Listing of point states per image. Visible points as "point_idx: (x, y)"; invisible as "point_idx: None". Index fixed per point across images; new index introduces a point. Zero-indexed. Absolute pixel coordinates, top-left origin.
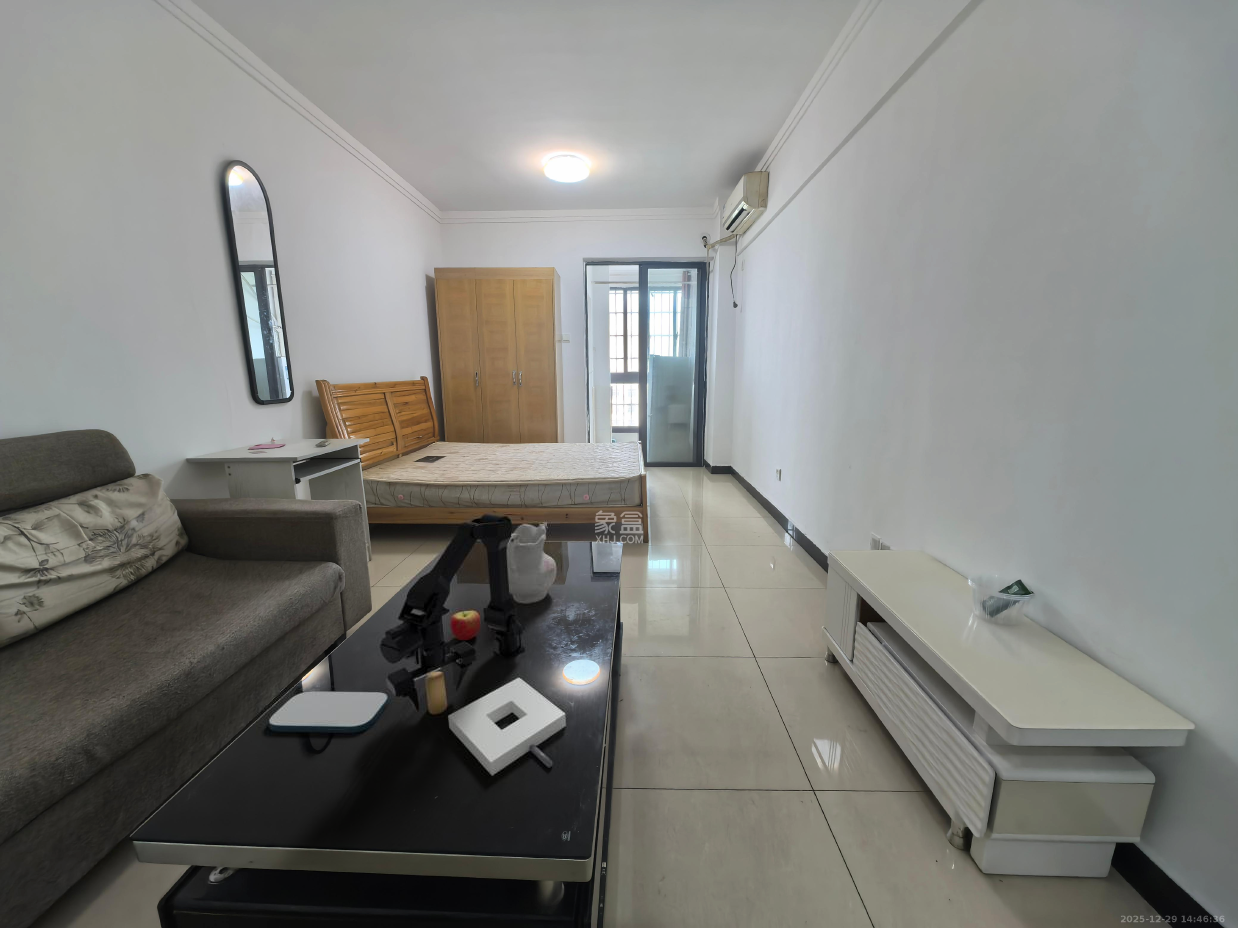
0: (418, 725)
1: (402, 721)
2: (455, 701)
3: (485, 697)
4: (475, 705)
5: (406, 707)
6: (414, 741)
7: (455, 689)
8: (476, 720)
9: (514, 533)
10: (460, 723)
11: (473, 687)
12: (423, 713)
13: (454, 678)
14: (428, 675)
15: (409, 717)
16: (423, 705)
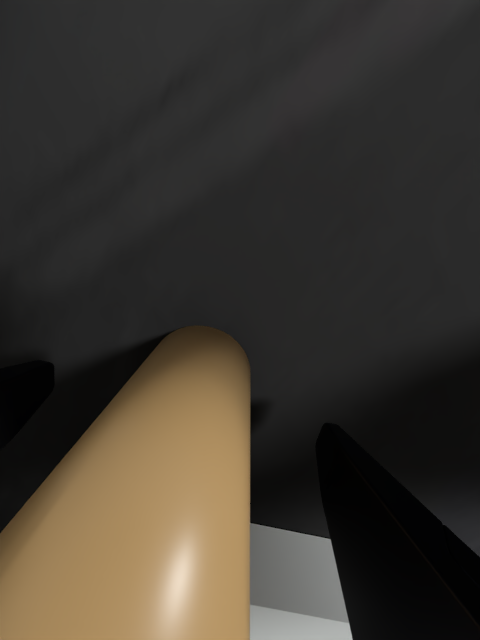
0: (66, 391)
1: (13, 294)
2: (286, 410)
3: (332, 626)
4: (258, 625)
5: (79, 195)
6: (14, 450)
7: (320, 448)
8: None
9: None
10: None
11: (425, 407)
12: (126, 341)
13: (368, 529)
14: None
15: (56, 300)
16: (162, 282)
